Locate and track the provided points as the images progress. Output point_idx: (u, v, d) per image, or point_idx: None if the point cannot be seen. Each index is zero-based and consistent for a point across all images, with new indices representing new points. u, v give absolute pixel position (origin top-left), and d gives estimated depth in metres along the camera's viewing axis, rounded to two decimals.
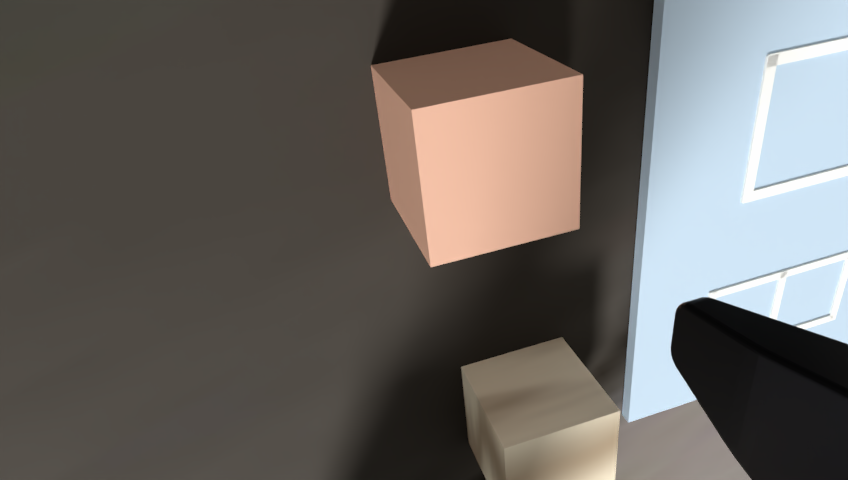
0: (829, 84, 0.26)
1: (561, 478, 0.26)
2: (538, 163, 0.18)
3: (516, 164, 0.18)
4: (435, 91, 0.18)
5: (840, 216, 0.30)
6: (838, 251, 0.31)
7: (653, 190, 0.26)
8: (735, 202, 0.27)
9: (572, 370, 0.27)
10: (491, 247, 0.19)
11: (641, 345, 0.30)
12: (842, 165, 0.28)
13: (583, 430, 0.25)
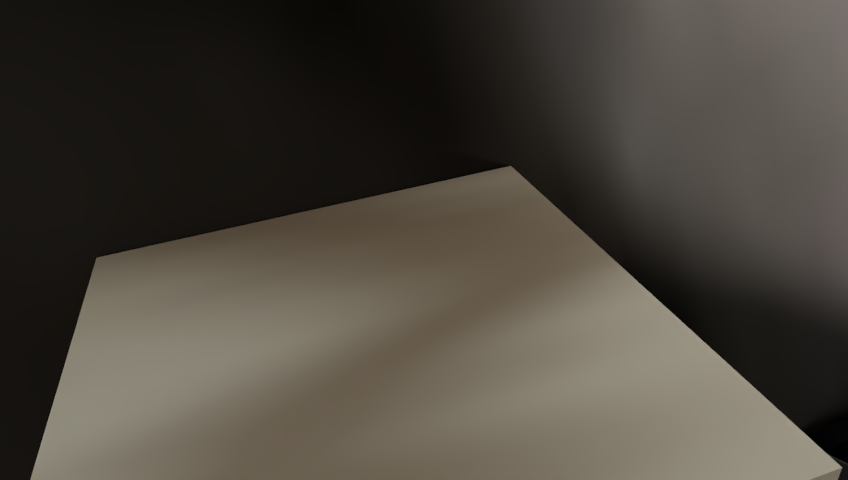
0: None
1: None
2: None
3: None
4: None
5: None
6: None
7: None
8: None
9: None
10: None
11: None
12: None
13: None
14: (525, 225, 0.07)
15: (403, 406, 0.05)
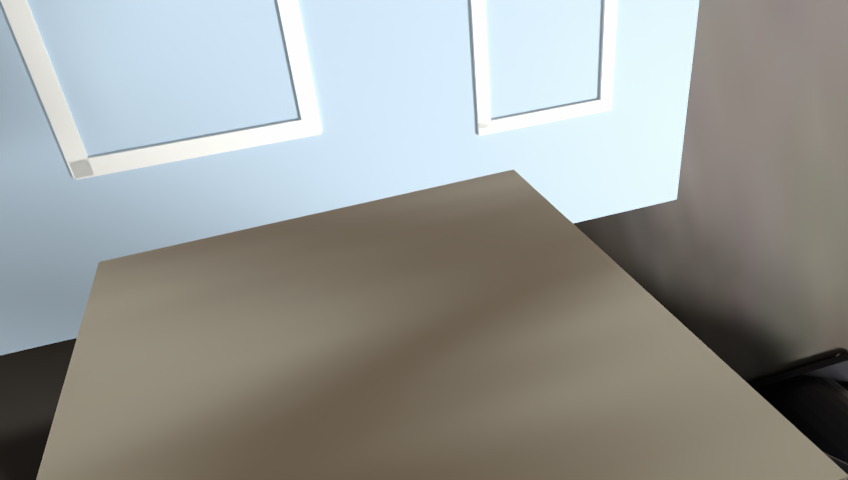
0: (103, 28, 0.15)
1: None
2: None
3: None
4: None
5: None
6: None
7: None
8: (320, 143, 0.18)
9: None
10: None
11: None
12: None
13: None
14: (528, 229, 0.07)
15: (407, 412, 0.05)
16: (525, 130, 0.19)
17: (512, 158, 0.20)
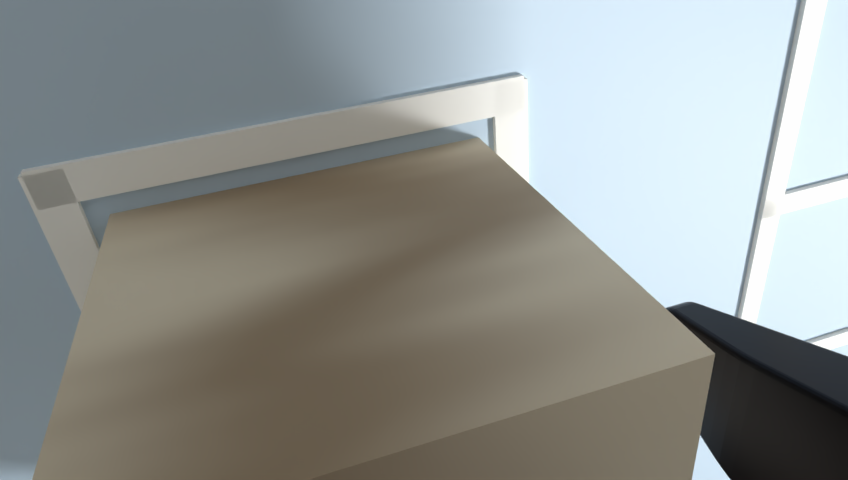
0: None
1: None
2: None
3: None
4: None
5: (664, 79, 0.09)
6: (788, 27, 0.10)
7: None
8: None
9: None
10: None
11: None
12: None
13: None
14: (485, 184, 0.08)
15: (371, 318, 0.06)
16: None
17: None
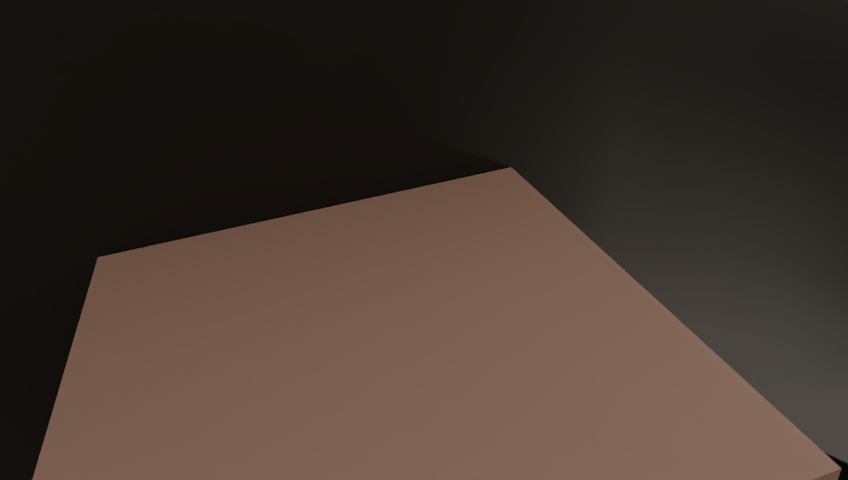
0: None
1: None
2: None
3: None
4: None
5: None
6: None
7: None
8: None
9: None
10: None
11: None
12: None
13: None
14: None
15: None
16: None
17: None
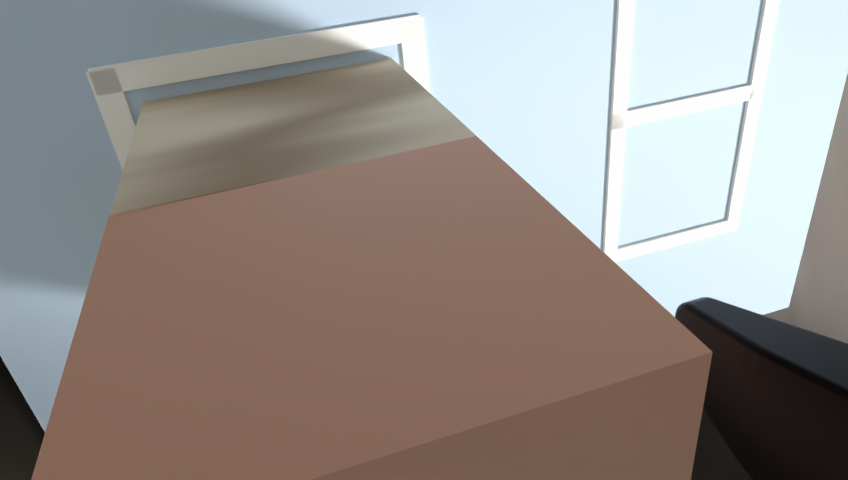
0: None
1: None
2: None
3: None
4: None
5: (523, 21, 0.14)
6: None
7: None
8: None
9: None
10: None
11: None
12: None
13: None
14: (386, 80, 0.12)
15: (300, 134, 0.10)
16: (649, 254, 0.18)
17: None
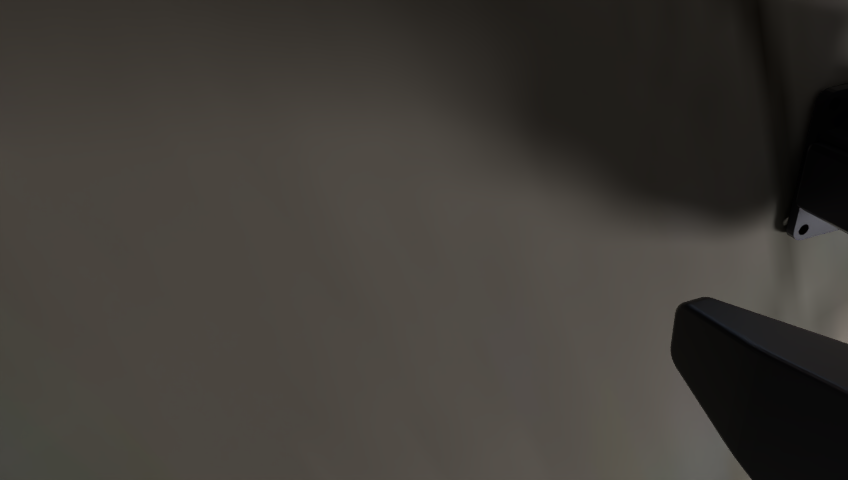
0: None
1: None
2: None
3: None
4: None
5: None
6: None
7: None
8: None
9: None
10: None
11: None
12: None
13: None
14: None
15: None
16: None
17: None
